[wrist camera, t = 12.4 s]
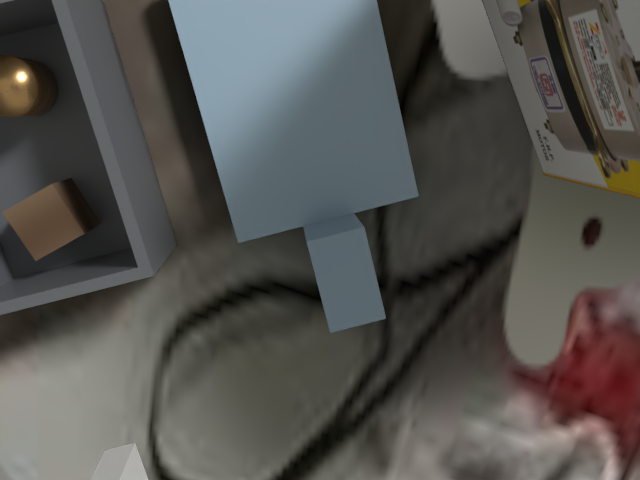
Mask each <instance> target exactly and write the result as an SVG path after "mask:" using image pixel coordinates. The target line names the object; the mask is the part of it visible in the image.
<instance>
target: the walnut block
mask: <svg viewBox="0 0 640 480" xmlns="http://www.w3.org/2000/svg"><path fill="white" fill-rule="evenodd" d="M2 213H3V214H4V216H5V217H6V219H7V220H8V222H9V223H10V225H11V226H12V228H13V229H14V230H15V232H16V233H17V235H18V236H19V238H20V239H21V241H22V242H23V243H24V245H25V246H26V248H27V249H28V251H29V252H30V254H31V255H32V257H33V258H34V259H35V261H37V260H39V259H40V258H42V257H44V256H46V255H48V254H49V253H51V252H53V251H55V250H56V249H58V248H60V247H62V246H64V245H65V244H67V243H69V242H71V241H72V240H74V239H76V238H78V237H80V236H81V235H83V234H85V233H86V232H88V231H90V230H91V229H93V228H94V227H96V226H98V225H99V224H101V223H100V221H99V220H98V218H97V217H96V215H95V213H94V212H93V210H92V209H91V207H90V206H89V204H88V203H87V201H86V200H85V198H84V197H83V195H82V194H81V192H80V190H79V189H78V187H77V186H76V184H75V183H74V181H73V180H72V178H69V179H66V180H62V181H59V182H56V183H53V184H51V185H49V186H47V187H45V188H44V189H42V190H40V191H38V192H37V193H35V194H33V195H31V196H30V197H28V198H26V199H24V200H23V201H21V202H19V203H17V204H16V205H14V206H12V207H10V208H9V209H7V210H5V211H3V212H2Z"/></svg>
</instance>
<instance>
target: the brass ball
mask: <svg viewBox="0 0 640 480" xmlns="http://www.w3.org/2000/svg"><path fill="white" fill-rule="evenodd" d="M57 98H58V84H57V80H56V78H55V76H54V74H53V73H52V72H51V70H50V69H49V68H47V67H46V66H45V65H43V64H42V63H40V62H37V61H34V60H29V59H25V58H20V57H15V56H10V55H0V116H4V117H28V116H40V115H43V114H45V113H47V112H48V111H50V110H51V109H52V108H53V106H54V105H55V103H56V101H57Z"/></svg>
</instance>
